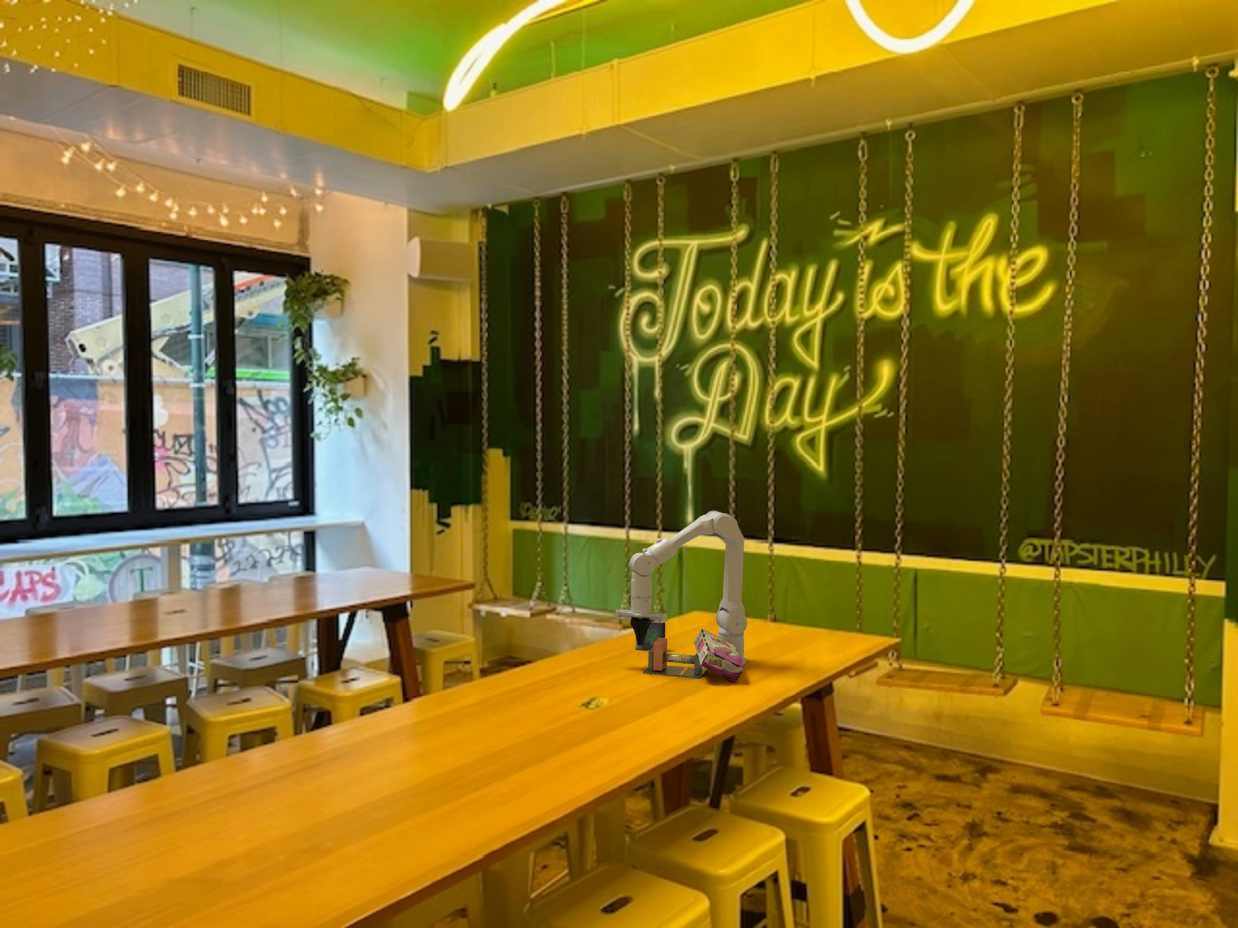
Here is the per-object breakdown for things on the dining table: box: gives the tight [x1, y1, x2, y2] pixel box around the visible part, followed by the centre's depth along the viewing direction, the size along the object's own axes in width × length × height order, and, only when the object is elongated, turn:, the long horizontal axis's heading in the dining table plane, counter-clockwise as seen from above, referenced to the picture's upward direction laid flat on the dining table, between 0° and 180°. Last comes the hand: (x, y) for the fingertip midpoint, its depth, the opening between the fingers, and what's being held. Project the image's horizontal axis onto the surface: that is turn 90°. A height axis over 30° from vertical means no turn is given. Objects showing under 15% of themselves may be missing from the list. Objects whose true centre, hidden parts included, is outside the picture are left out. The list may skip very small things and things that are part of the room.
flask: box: [635, 620, 666, 652], centre depth 282 cm, size 9×3×11 cm, turn 76°
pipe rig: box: [642, 648, 708, 679], centre depth 258 cm, size 9×16×6 cm, turn 73°
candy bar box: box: [693, 628, 745, 683], centre depth 254 cm, size 11×5×16 cm
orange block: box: [653, 637, 668, 671], centre depth 259 cm, size 6×2×8 cm, turn 163°
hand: (640, 644), depth 260 cm, fingers closed
